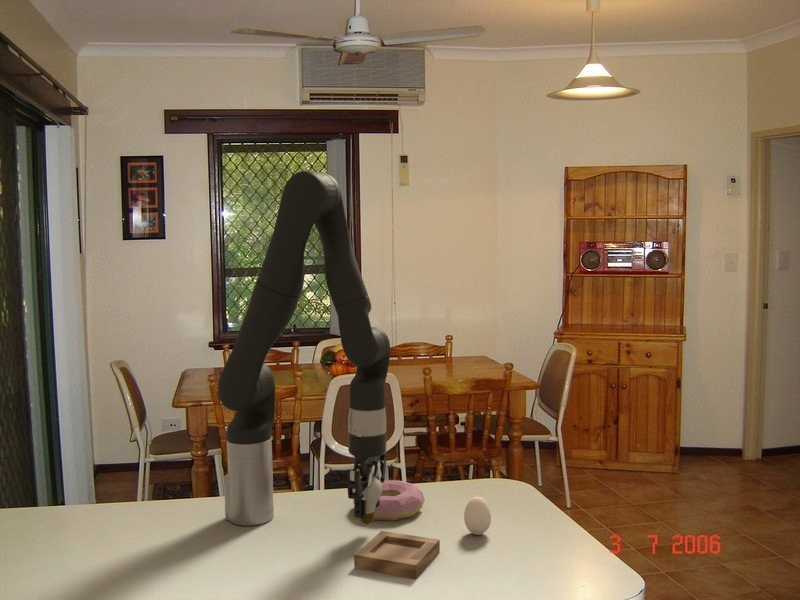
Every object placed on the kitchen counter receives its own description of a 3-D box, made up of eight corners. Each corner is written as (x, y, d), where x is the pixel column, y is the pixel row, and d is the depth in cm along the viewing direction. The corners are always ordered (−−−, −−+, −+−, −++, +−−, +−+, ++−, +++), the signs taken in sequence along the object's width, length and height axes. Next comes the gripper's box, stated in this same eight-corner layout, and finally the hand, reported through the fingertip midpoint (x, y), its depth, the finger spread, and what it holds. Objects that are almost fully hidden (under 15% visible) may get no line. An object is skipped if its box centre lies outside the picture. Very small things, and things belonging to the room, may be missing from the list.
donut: (430, 501, 179) (430, 479, 179) (416, 526, 164) (415, 503, 164) (363, 496, 183) (363, 475, 182) (343, 521, 168) (343, 498, 167)
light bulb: (378, 530, 156) (378, 481, 155) (348, 528, 158) (349, 478, 157) (384, 519, 162) (384, 471, 161) (356, 517, 163) (356, 469, 162)
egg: (484, 527, 163) (484, 491, 162) (495, 537, 158) (495, 499, 157) (459, 531, 161) (459, 494, 160) (470, 541, 156) (470, 502, 155)
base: (354, 568, 145) (354, 554, 144) (381, 543, 156) (381, 530, 155) (416, 578, 140) (416, 565, 140) (439, 552, 151) (439, 539, 151)
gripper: (365, 418, 166) (365, 497, 168) (333, 436, 153) (333, 521, 154) (399, 422, 163) (398, 502, 165) (369, 440, 150) (368, 527, 152)
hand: (367, 511), depth 160 cm, fingers closed on light bulb, 5 cm apart
